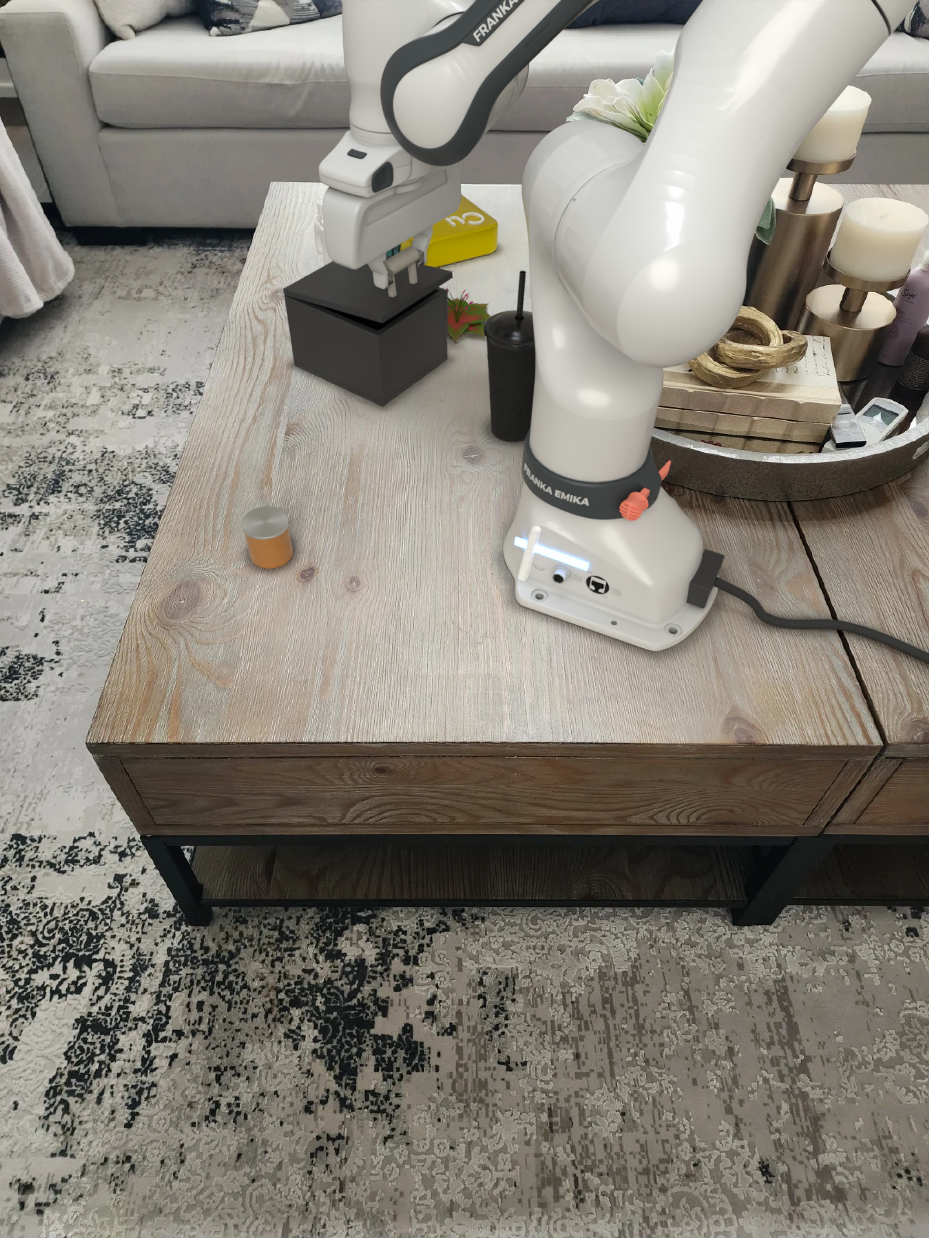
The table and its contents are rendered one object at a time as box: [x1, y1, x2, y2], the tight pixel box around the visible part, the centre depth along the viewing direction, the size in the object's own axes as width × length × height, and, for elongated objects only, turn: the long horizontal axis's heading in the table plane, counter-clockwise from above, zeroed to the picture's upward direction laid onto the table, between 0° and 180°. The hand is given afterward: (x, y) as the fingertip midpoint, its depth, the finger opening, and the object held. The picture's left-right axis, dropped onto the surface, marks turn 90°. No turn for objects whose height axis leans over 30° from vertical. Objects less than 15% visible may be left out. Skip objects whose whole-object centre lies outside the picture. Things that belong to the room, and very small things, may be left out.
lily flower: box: [445, 286, 492, 343], centre depth 118 cm, size 12×12×5 cm
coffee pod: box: [240, 505, 294, 570], centre depth 87 cm, size 5×5×4 cm
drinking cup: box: [483, 270, 535, 443], centre depth 96 cm, size 8×8×20 cm
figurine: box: [302, 197, 333, 278], centre depth 116 cm, size 7×9×15 cm
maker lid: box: [282, 246, 454, 323], centre depth 102 cm, size 16×14×5 cm
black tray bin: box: [283, 286, 449, 407], centre depth 109 cm, size 15×14×10 cm
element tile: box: [400, 193, 499, 268], centre depth 134 cm, size 15×15×5 cm
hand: (400, 275), depth 100 cm, fingers closed on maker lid, 5 cm apart
